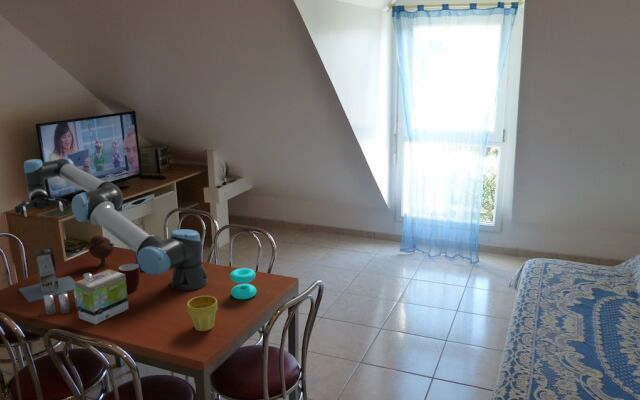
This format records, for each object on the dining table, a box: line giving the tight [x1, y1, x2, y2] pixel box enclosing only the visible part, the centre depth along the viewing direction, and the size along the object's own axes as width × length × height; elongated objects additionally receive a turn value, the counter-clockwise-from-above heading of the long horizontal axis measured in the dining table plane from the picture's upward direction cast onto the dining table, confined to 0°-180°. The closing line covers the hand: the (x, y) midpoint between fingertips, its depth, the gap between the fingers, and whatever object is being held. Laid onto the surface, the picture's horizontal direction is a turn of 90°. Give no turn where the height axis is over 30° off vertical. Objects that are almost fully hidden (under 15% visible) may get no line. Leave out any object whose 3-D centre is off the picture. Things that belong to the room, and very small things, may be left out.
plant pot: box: [186, 295, 219, 332], centre depth 203 cm, size 10×10×10 cm
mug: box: [118, 262, 141, 293], centre depth 234 cm, size 11×8×10 cm
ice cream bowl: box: [88, 234, 115, 269], centre depth 260 cm, size 11×11×15 cm
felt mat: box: [18, 275, 76, 304], centre depth 237 cm, size 16×20×1 cm
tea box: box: [75, 269, 129, 325], centre depth 214 cm, size 15×10×15 cm, turn 148°
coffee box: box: [34, 246, 59, 293], centre depth 235 cm, size 9×6×16 cm
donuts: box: [229, 267, 258, 300], centre depth 228 cm, size 10×10×10 cm
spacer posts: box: [43, 272, 93, 315], centre depth 225 cm, size 17×21×7 cm
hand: (44, 210), depth 235 cm, fingers open, 13 cm apart
